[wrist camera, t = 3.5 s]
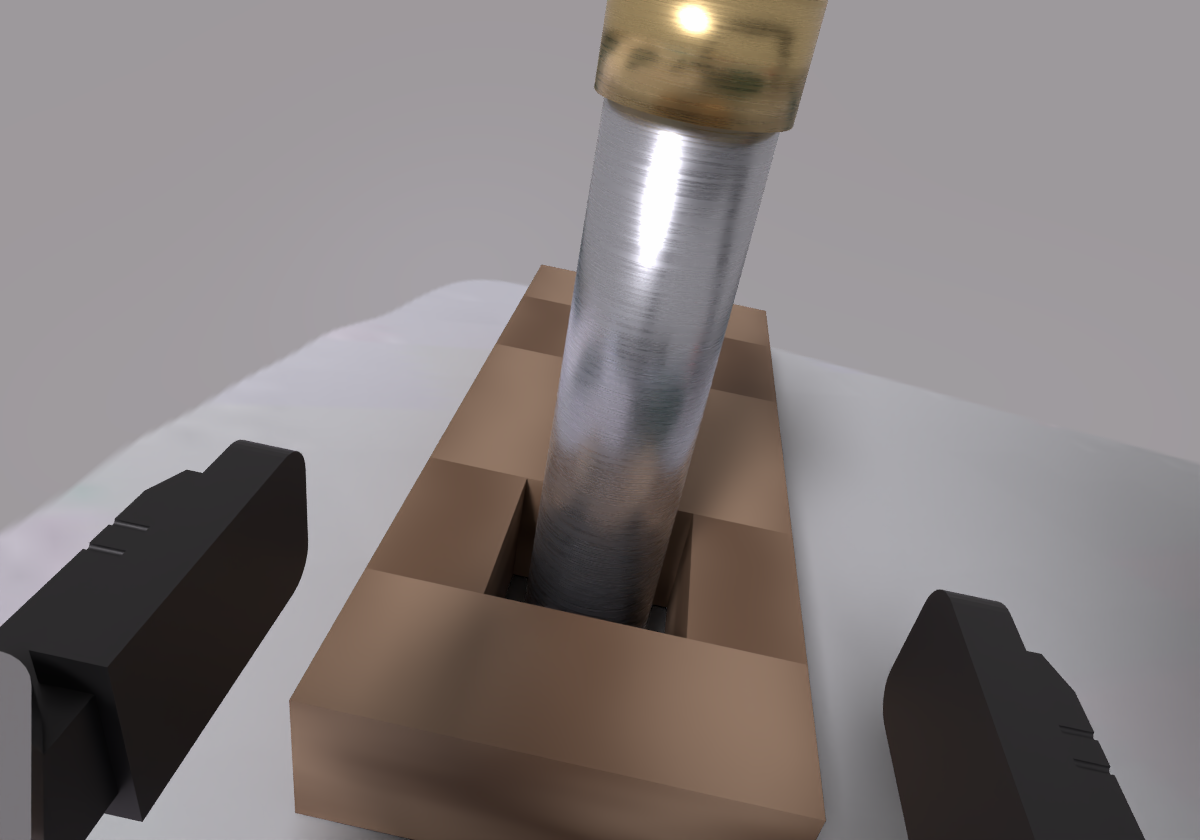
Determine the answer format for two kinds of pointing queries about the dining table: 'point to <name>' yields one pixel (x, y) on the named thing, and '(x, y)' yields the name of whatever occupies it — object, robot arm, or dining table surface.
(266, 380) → the dining table surface
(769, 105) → the gold-capped metal cylinder
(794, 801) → the stand
